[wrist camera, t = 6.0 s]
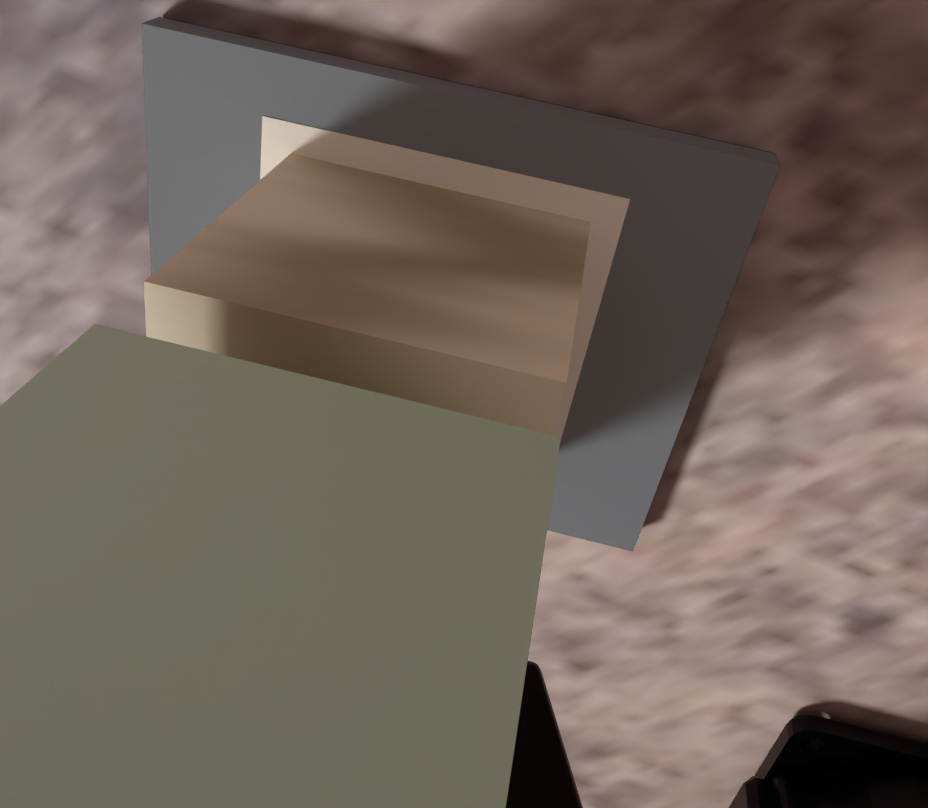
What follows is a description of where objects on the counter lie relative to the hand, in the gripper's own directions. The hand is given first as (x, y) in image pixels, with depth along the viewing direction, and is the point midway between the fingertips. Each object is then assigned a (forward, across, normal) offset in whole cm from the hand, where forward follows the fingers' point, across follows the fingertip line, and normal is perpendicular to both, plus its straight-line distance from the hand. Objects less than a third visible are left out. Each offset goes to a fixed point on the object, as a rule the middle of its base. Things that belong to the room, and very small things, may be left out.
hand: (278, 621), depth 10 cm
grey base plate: (+8, 0, 0) cm, 8 cm away
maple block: (+7, 0, 0) cm, 7 cm away
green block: (+1, 0, 0) cm, 1 cm away
